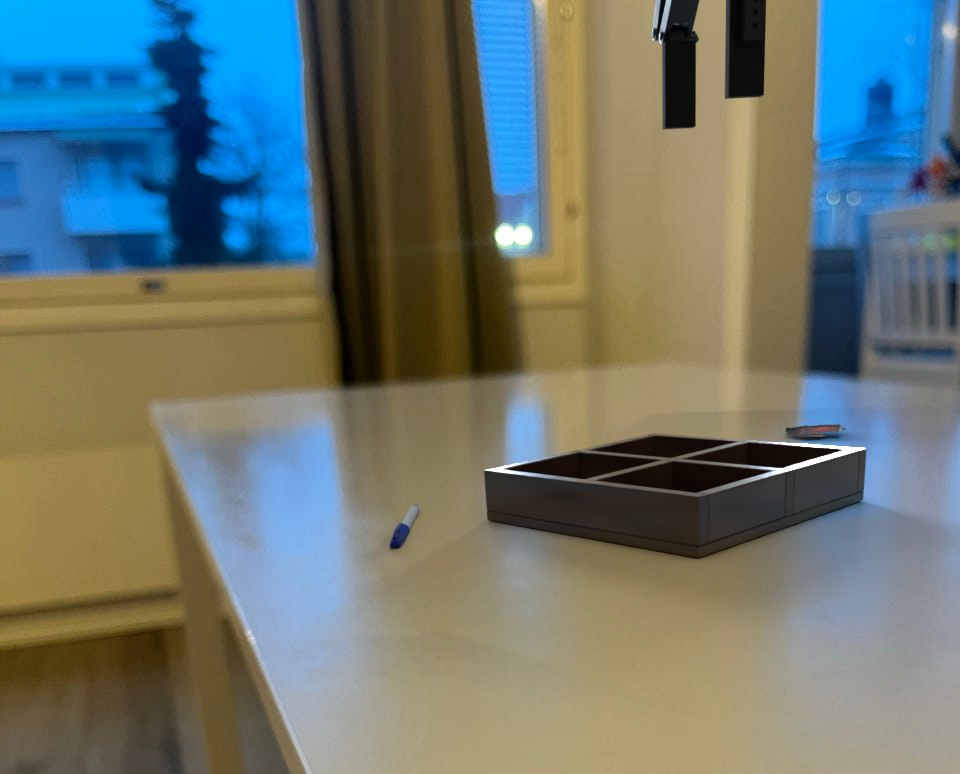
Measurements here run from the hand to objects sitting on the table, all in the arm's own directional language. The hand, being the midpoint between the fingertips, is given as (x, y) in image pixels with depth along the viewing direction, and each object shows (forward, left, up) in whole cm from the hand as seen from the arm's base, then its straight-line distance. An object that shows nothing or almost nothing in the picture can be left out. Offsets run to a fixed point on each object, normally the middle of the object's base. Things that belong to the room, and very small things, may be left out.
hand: (709, 114), depth 79 cm
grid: (+25, +16, -25) cm, 39 cm away
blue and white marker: (+37, +5, -26) cm, 46 cm away
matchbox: (-4, +8, -25) cm, 27 cm away
